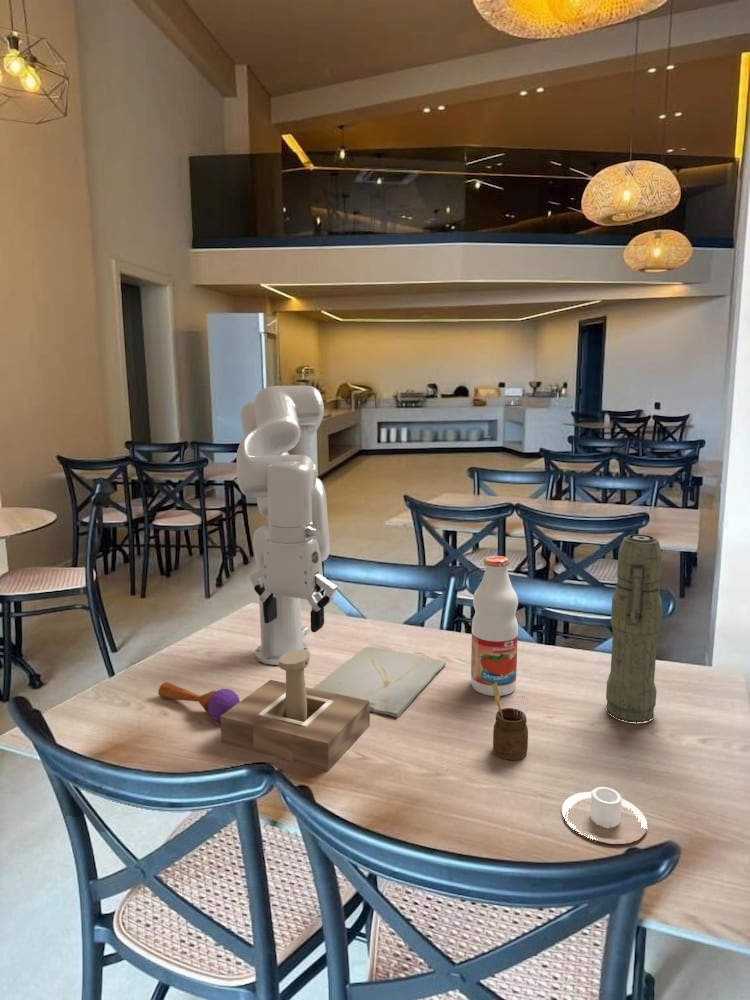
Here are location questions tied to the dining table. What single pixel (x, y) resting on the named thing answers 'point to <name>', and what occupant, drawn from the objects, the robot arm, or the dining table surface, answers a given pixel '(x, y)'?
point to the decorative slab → (382, 678)
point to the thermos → (635, 630)
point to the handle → (295, 683)
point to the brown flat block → (296, 725)
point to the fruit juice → (494, 630)
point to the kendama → (202, 698)
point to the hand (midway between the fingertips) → (293, 625)
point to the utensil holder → (510, 731)
